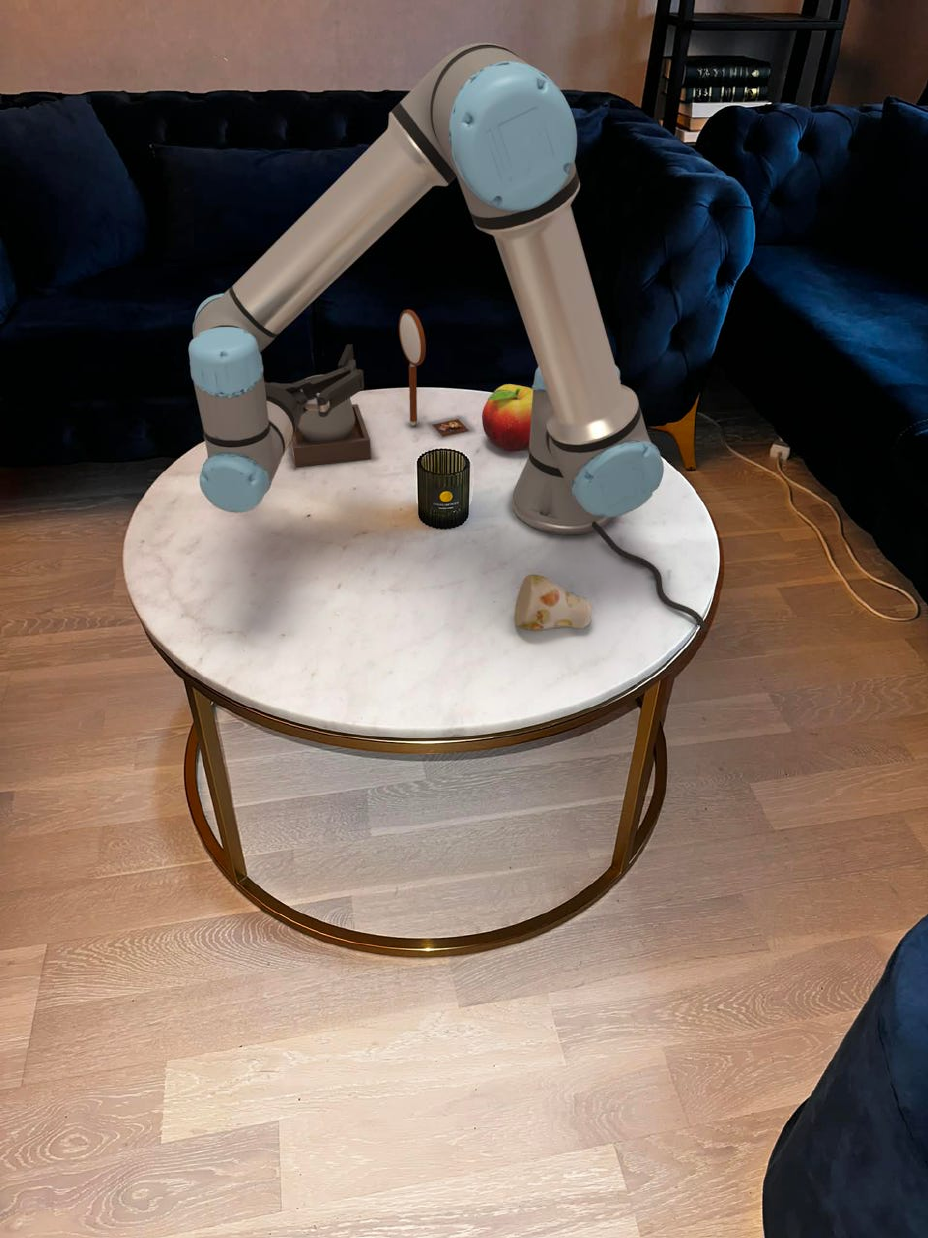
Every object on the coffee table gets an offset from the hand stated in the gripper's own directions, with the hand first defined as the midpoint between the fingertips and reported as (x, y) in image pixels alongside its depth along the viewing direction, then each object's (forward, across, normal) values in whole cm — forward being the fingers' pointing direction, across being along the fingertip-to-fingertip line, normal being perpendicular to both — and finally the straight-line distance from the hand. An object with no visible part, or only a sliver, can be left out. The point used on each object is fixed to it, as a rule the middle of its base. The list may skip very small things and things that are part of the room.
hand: (303, 350), depth 134 cm
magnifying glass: (+18, +13, -21) cm, 30 cm away
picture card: (+18, +19, -21) cm, 34 cm away
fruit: (+14, +30, -21) cm, 39 cm away
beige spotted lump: (-31, +38, -21) cm, 53 cm away
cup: (+10, 0, -20) cm, 23 cm away
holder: (+10, 0, -21) cm, 23 cm away
